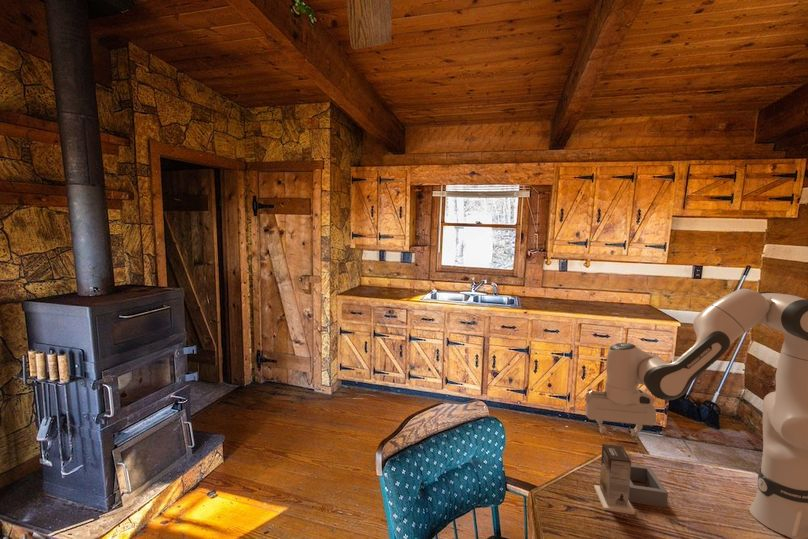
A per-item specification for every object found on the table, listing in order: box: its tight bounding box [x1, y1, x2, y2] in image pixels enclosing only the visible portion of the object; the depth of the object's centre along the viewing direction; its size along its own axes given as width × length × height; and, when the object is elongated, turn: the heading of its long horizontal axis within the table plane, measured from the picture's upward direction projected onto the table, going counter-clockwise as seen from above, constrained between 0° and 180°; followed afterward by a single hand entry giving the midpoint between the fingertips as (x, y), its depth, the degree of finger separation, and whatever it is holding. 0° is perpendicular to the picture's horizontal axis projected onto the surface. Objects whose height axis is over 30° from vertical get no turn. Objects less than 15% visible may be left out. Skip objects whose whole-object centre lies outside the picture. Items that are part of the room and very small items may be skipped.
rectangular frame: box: [628, 463, 669, 508], centre depth 128 cm, size 11×14×5 cm
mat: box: [593, 484, 636, 516], centre depth 123 cm, size 9×11×1 cm
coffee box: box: [599, 443, 632, 508], centre depth 122 cm, size 9×6×16 cm
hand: (618, 434), depth 121 cm, fingers open, 8 cm apart
